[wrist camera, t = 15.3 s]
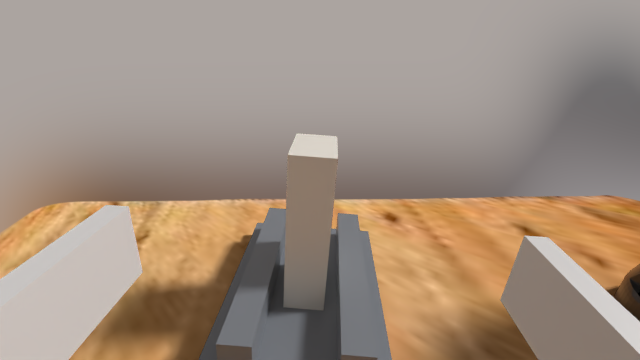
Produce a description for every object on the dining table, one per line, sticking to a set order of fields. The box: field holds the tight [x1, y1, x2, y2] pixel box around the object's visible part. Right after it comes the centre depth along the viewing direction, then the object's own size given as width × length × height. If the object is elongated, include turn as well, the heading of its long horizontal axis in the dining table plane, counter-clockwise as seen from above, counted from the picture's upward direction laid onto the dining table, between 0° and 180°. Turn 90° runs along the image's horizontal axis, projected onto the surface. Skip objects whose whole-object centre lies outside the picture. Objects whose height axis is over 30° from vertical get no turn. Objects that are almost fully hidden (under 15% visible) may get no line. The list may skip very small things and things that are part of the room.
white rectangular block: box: [283, 133, 338, 311], centre depth 23 cm, size 3×5×12 cm, turn 178°
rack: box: [199, 208, 392, 360], centre depth 26 cm, size 12×18×4 cm, turn 178°
